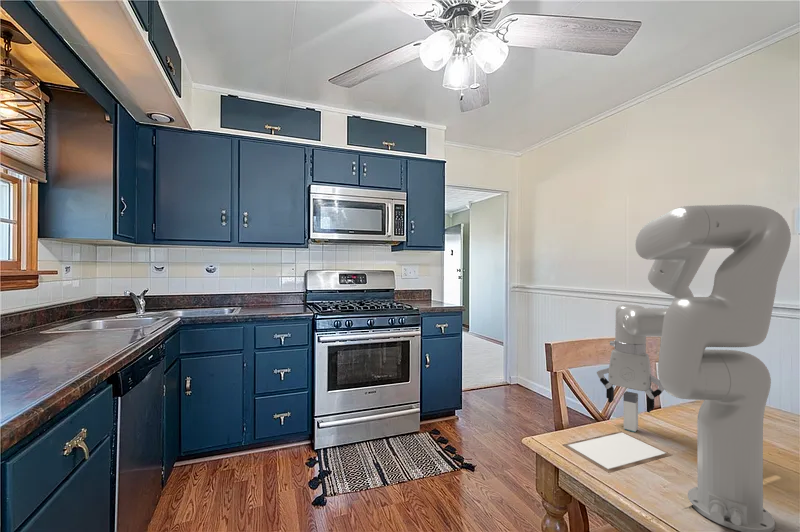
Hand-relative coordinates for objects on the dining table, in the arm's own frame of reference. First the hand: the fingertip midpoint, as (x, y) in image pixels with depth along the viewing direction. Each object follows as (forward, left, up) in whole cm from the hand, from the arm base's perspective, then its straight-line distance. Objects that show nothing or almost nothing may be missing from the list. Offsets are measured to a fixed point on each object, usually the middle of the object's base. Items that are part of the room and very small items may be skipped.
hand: (629, 405), depth 106 cm
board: (-17, 0, -7) cm, 18 cm away
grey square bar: (-1, 0, -7) cm, 7 cm away
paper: (-17, 0, -7) cm, 18 cm away
